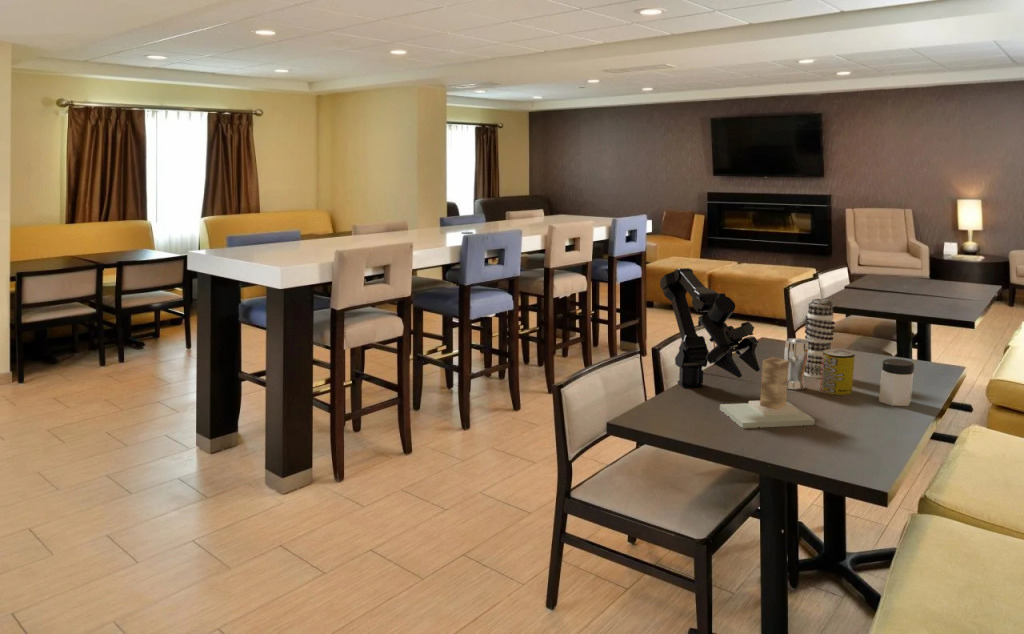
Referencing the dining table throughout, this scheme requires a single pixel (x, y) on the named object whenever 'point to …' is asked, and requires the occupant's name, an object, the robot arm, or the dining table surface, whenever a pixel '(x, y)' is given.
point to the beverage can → (837, 371)
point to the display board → (765, 415)
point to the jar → (896, 382)
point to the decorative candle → (818, 334)
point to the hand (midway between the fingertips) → (749, 373)
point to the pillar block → (774, 383)
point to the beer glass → (796, 362)
